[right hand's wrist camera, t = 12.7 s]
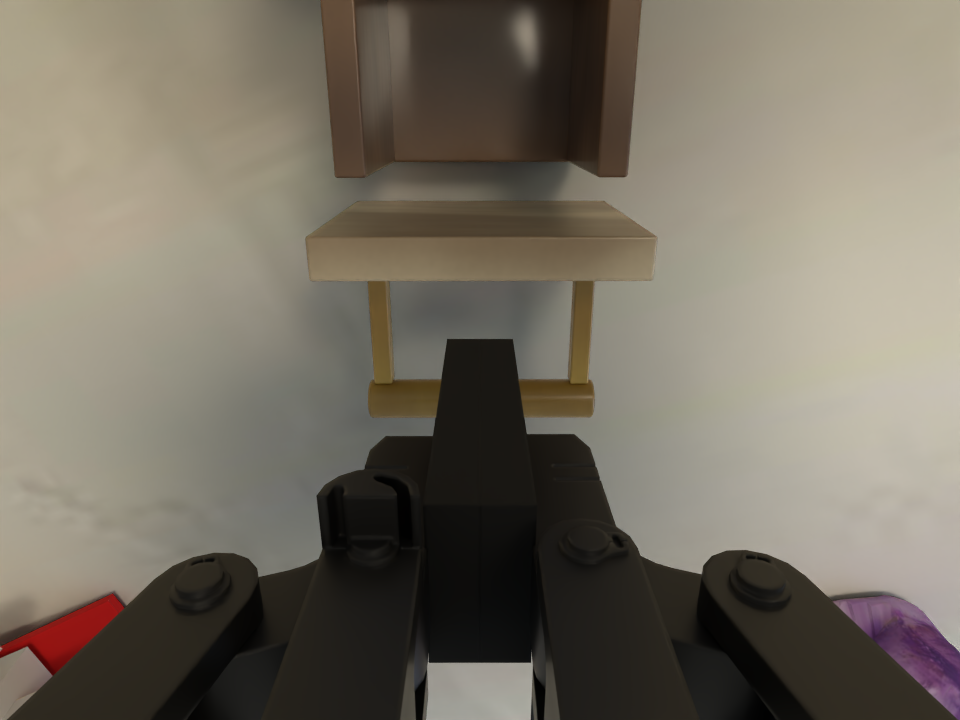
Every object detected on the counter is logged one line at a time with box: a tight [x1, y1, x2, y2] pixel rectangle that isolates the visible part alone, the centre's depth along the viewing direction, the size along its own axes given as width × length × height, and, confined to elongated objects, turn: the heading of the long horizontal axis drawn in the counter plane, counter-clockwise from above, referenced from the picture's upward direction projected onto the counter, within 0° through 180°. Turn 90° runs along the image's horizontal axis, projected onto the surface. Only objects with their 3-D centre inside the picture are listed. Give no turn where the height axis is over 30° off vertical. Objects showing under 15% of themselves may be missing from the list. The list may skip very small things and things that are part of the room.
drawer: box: [306, 0, 657, 418], centre depth 18 cm, size 22×9×7 cm, turn 0°
